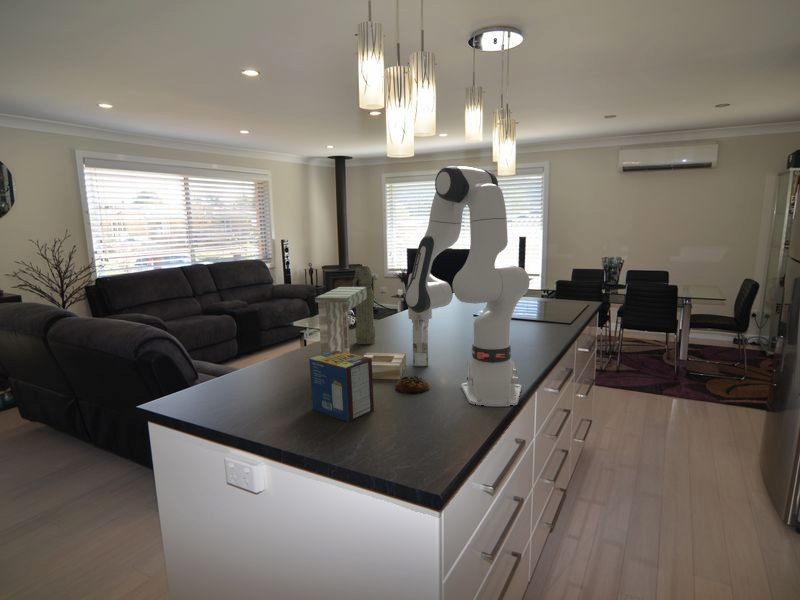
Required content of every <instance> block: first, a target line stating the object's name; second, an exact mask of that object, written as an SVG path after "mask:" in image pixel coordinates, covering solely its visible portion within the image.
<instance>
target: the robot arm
mask: <svg viewBox="0 0 800 600" xmlns="http://www.w3.org/2000/svg"><path fill="white" fill-rule="evenodd" d="M498 182H499V181H498V179H497V177H496V175H495V174H494V173H492V172H491V171H488V170H486V169H480V168H476V167H475V168H474V167H471V166H455V165H451V166H446V167H442V168H441V169H440V170H439V171H438V172H437V174H436V177H435V180H434V188H435V189H434V190H435V191H436V192H435V193H434V196H433V199H432V203H431V207H430V211H429V220H428V225H427V230H426V232H425V234H424V236H423V237H422V239H421V240H420V241H419V244H418V247H417V251H416V255H415V259H414V263H413V267H412V272H411V273H410V274H409V275H408V280H407V287H406V290H405V294H404V300H405V303H406V305H407V307H408V309H407V310H408V311H407V313H408V315H407V316H408V317H407V318H408V319H409V320H411V323H412V344H413V343H414V344H416V345H417V352H418V353H421V352H422V343H423V341H424V338H425V333H424V329H425V328H424V327H426V326H428V327H429V322H430V321H429V320H431V319H433V310H434V309H439V308H443V307H446V306H448V305H450V303H452V299H453V296H455V298H456V299H457V300H458V301H459V302H461V303H465V304H467V303H468V304H476V305H477V304H483V303H484V304H485V303H486V305H485V306H484V307H485V308H484V310H483V311H482V312H480V313H479V314H478V315H477V316H476V317H475V319H474V322H473V343H472V346H471V347H472V348H471V356H472V357H471V359H470V360H469V361H467V371H466V372H467V374H466V381H467V382H462V383H461V386H460V387H461V390H462V392H463V393H464V395H465V398H466V399H467V401H468V403H469V404H472V405H475V404H476V405H477V406H481V405H484V406H483V407H511V406H510V405H513V406H517V405H518V404H519V400H520V397H521V393H520V392H521V391H522V389H521V388H522V385H521V384H520V383H519V377H518V376H516V375H517V372H518V371H517V369H516V365H515V364H516V363H515V362H514V360H512V356H511V355H512V354H511V353H512V348H511V347H512V346H511V344H510V335H511V333H510V331H511V330H510V329H511V321H512V317H513V313H514V311H515V310H516V309H515V308H516V307H517V306H518V305H517V304H518V303H519V302H520V300H521V299H522V298H523V297H524V296H525V295H526V294H527V293H528V291H529V288H530V277H529V274H528V273H527V271H526V270H525V269H524V268H523V267H521V266H516V265H509V264H508V265H507V264H506V265H496V260H497V258H498V255H499V254H500V253H501V252H503V251H504V250H505V249H506V248H507V246H508V243H509V242H508V239H509V238H508V221H507V210H506V209H507V208H506V202H505V198H504V194H503V193H504V192H503V190H502V188H501V187H500V186H499V183H498ZM466 206H467V207H468V210H469V228H470V229H469V230H470V231H469V232H470V235H469V236H470V247H469V252H468V255H467V258H466V261H465V263H464V264H463V266H462V268H461V269H460V270H459V271H458V272H457V273H456V274H455V276H454V278H453V281H452V286H451V284H450V283H449V282H448V281H445V280H442V279H439V278H437V277H436V276H434V275H433V274H432V273H431V271H432V266H433V262H434V261H435V259H436V258H437V256H438V255H440V254H441V253H442V252H443V251H445V250H447V249H449V248H450V247H452V246H453V245H455V243H457V241H458V239H459V237H460V234H461V231H462V230H461V229H462V222H463V212H464V209H465V207H466ZM519 396H520V397H519Z"/></svg>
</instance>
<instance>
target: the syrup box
mask: <svg viewBox="0 0 800 600" xmlns="http://www.w3.org/2000/svg"><path fill="white" fill-rule="evenodd" d="M424 328H425V329H424V333H425V338H424V341H423V343H422V352H421V353H418V352H417V345H416V344H414V343H413V342H412V364H413V365H412V366H413V367H429V363H430V362H429V361H430V360H429V357H430V356H429V325H428V326H426V327H424Z"/></svg>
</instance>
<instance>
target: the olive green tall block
mask: <svg viewBox="0 0 800 600" xmlns="http://www.w3.org/2000/svg"><path fill="white" fill-rule="evenodd" d="M354 271H355V272H354V277H353V278H352V279H353V280H352V287H367V299H365V300H364V301H362V302H361V303H359V304H358V305H356V306H355V307H354V308H355V321H356V323H355V324H356V327H355V329H354V330H355V339H356V340H355V341H356V344H357V345H358V344H371V345H373V344H372V343H374V342H375V343H376V327H375V325H374V324H375V322H374V321H375V320H374V305H375V301H374V300H375V286H374V285H375V283H374V282H375V281H374V277H373V275H372V271H371V267H369V266H365V265H364V266H362V265H361V266H357V267H355V270H354ZM375 343H374V344H375Z"/></svg>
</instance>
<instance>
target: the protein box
mask: <svg viewBox="0 0 800 600" xmlns="http://www.w3.org/2000/svg"><path fill="white" fill-rule="evenodd" d="M308 361H309V373H310V375H309V376H310V392H311V408H312V410H313V409H314V411H316V410H317V411H316V412H319V411H320V412H319V413H322V414H324V413H325V414H324V415H327V414H328V416H330V415H331V417H333V418H335V417H336V419H338V418H339V420H341V419H342V421H344V420H345V422H348V423H349V422H351V421H353V420H356V419H358V418H361V417H362V416H364V415H366V414H368V413H371V412H372V411H374V410H375V404H374V384H373V383H374V382H373V377H372V358H369V357H364V355H358V354H353V353H351V352H350V353H345V352H340V351H336V350H335V351H332V352H329V353H325V354H322V355H321V354H320V355H319V354H318V355H316V356H311V357H309V360H308Z"/></svg>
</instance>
